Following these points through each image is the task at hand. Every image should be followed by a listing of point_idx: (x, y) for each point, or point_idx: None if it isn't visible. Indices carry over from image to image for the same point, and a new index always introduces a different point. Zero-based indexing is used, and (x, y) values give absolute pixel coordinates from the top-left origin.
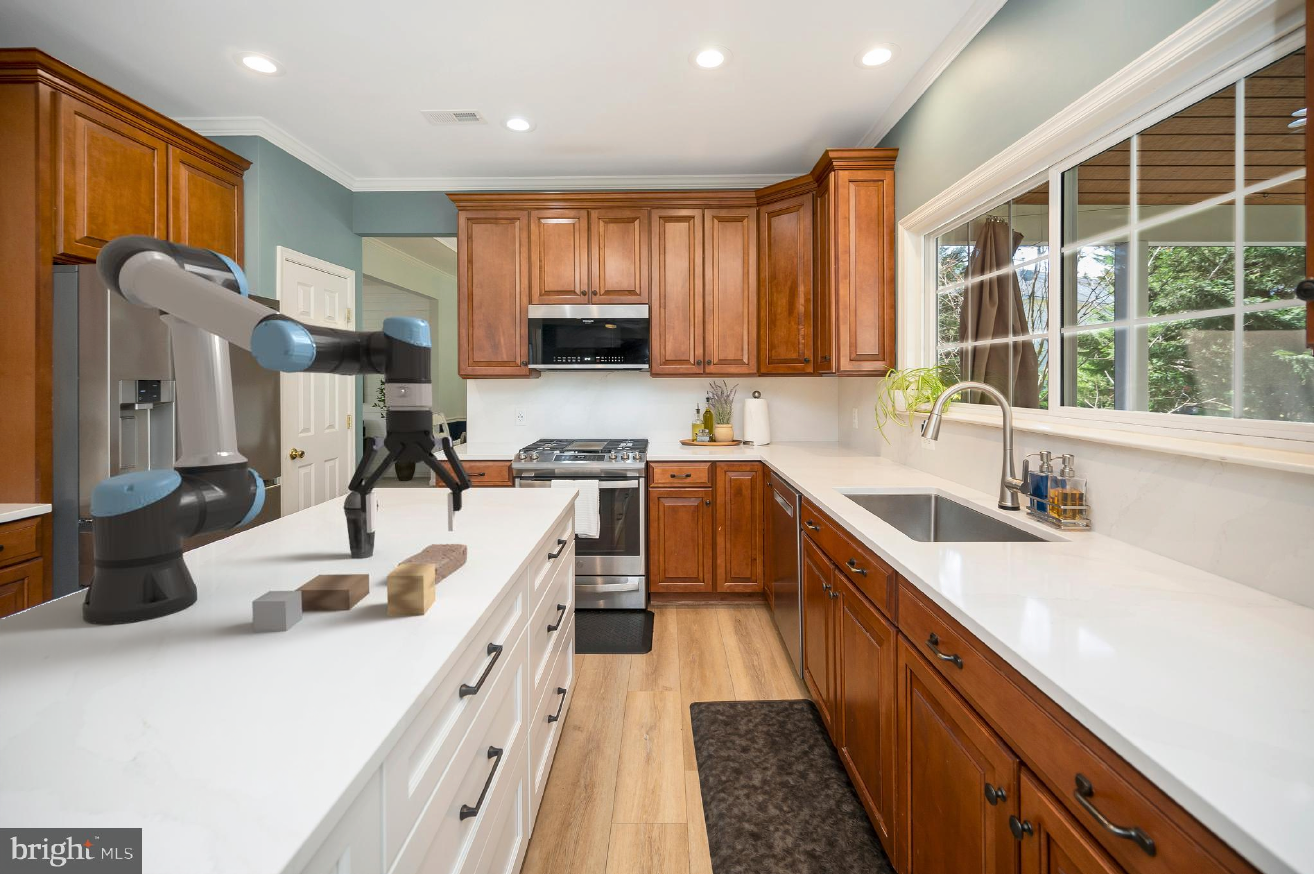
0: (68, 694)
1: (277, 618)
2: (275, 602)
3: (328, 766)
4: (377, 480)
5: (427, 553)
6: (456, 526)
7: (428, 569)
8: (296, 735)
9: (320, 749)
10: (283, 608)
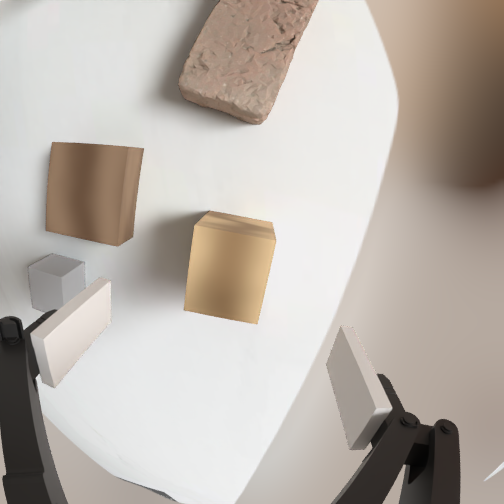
0: None
1: None
2: None
3: (226, 489)
4: (41, 420)
5: (237, 9)
6: (353, 329)
7: (264, 284)
8: (196, 470)
9: (217, 480)
10: None
